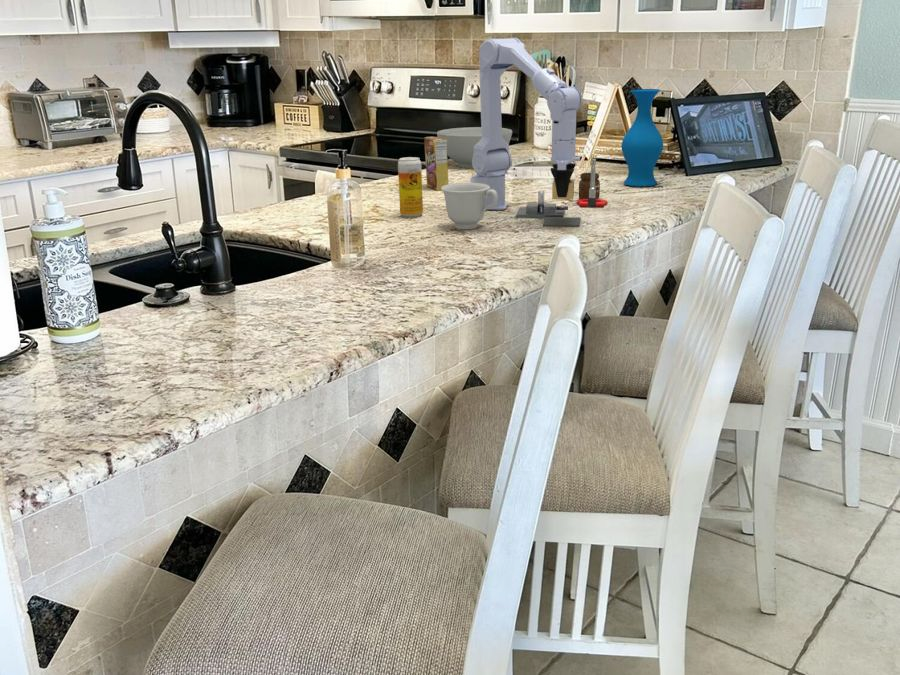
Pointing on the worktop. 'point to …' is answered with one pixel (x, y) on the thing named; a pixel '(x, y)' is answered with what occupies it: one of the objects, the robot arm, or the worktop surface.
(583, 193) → the utensil holder
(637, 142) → the vase
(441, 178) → the candy box
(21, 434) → the worktop surface
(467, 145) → the decorative bowl
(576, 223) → the mat
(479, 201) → the teacup
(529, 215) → the vise
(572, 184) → the tan slotted block
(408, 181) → the beer can
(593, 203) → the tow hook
